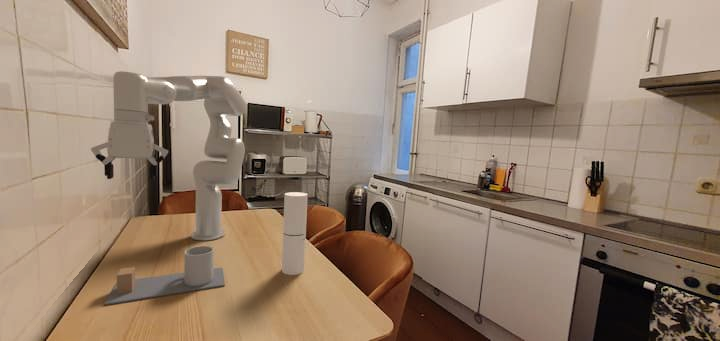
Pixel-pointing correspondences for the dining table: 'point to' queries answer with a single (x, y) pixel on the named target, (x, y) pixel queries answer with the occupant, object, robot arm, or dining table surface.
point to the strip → (155, 285)
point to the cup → (198, 265)
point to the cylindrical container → (294, 233)
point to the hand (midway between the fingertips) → (132, 178)
